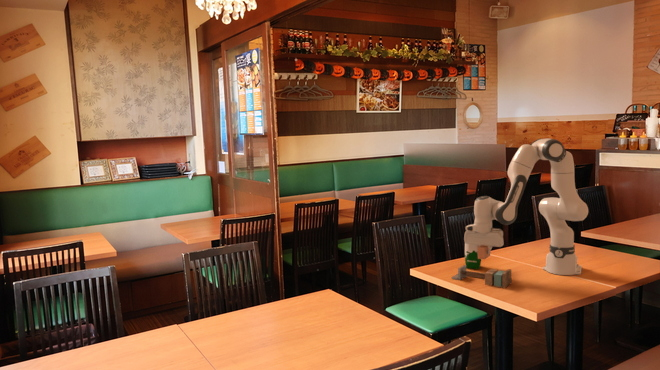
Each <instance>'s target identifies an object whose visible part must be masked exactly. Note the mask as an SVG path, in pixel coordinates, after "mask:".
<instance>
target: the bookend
mask: <svg viewBox="0 0 660 370" xmlns="http://www.w3.org/2000/svg"><path fill="white" fill-rule="evenodd" d="M466 271H467V268H466V264H463V265H462V266H460V267H457V274H454V275H453V276H452V277H451V279H452V280H458V281H461V280H463V279H465V278H467V276H466Z"/></svg>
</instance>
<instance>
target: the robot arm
mask: <svg viewBox="0 0 660 370" xmlns="http://www.w3.org/2000/svg"><path fill="white" fill-rule="evenodd" d="M539 160H542V161H549V164H550V185H551V189H552V190H554V191H555V192H556V193H557V195H558V196H559V197H554V196H553V197H543V198H542V199H541V200H540V202H539V204H538V211H539V213H540V215H542V216H543V217H544V219H545V220H546V222H547V225H548V227H549V232H550V244H549V247H548V248H549V252H548V253H546V259H545V266H543V267H542V270H544V271H546V272H547V273H549V274H550V273H551V274H554V275H559V276H572V275H573V276H574V275H582V267H583V266H582V265H580V264H579V263H578V256H577V255H576V251H575V250H576V246H575V244H574V243H575V242H574V241H575V231H574V230H573V228H571V227H570V226H568V224H567V222H566V221H569V222H570V221H571V222H581V221H584V220H585V219H586V218H587V217H588V215H589V207H588V204H587V203H586V202H584V200H582V199H581V197H580V196H579V194H578V191H577V188H576V182H575V180H576V179H575V163H574V157H573V154H572V153H571V152H570V151H567V150H566V149H565V146H564V144H563V142H561V141H560V140H558V139H555V138H537V139H535V140H534V141H532V142H531V143H530V144H528V143H527V144H525V143H524V144H522V145H521V146H519V147H518V149H517V151H516V152H515V154H514V155H513V157H512V159H511V161H510V163H509V165H508V168H507V172H506V173H507V176H508V178H509V181H510V190H509V192H508V195H507V197H506V199H505V202H503V201H500V200H496V199H494V198H492V197H490V196H488V195H482V196H479V197H476V199H475V200H474V205H473V214H474V215H473V216H474V222H473V223H471V224H468V225H466V226H465V227H464V228H465V232H464V237H463V240H464V241H463V242H464V244H465V243H467V244H475V247H476V248H477V247H479V245H486V246H488V248H489V250H487V254H490V255H491V250H492V248H493V247H497V248H501V247H503V246H504V243H505V242H504V231H503V230H502V229H501V228H494V227H493V221H494V220H496V221H497V222H499V223H500V224H501V225H504V226H508V225H511V224H513V223H514V222H516V219H517V217H518V208H519V205H520V202H521V199H522V197H523V195H524V191H525V189H526V186H527V182H528V180H529V177H530V175H531V174H532V171H533V168H534V166H535V164H536V163H537V162H538V161H539ZM477 252H478V248H477Z"/></svg>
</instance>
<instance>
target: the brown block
mask: <svg viewBox="0 0 660 370" xmlns="http://www.w3.org/2000/svg"><path fill="white" fill-rule="evenodd" d="M498 271H499V270H498V269H493V268H490V269H489V270H487V271H486V272H484V274H485V279H484V285H485V286H486V285H487V286H494V274H495V273H497V272H498Z"/></svg>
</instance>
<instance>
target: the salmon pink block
mask: <svg viewBox="0 0 660 370" xmlns="http://www.w3.org/2000/svg"><path fill="white" fill-rule="evenodd" d="M477 248H478V259H481V260H486V259H487V258H489V257H491V253H490V254H487V250H489V248H488V246H486V245H481V246H479V247H477Z"/></svg>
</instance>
